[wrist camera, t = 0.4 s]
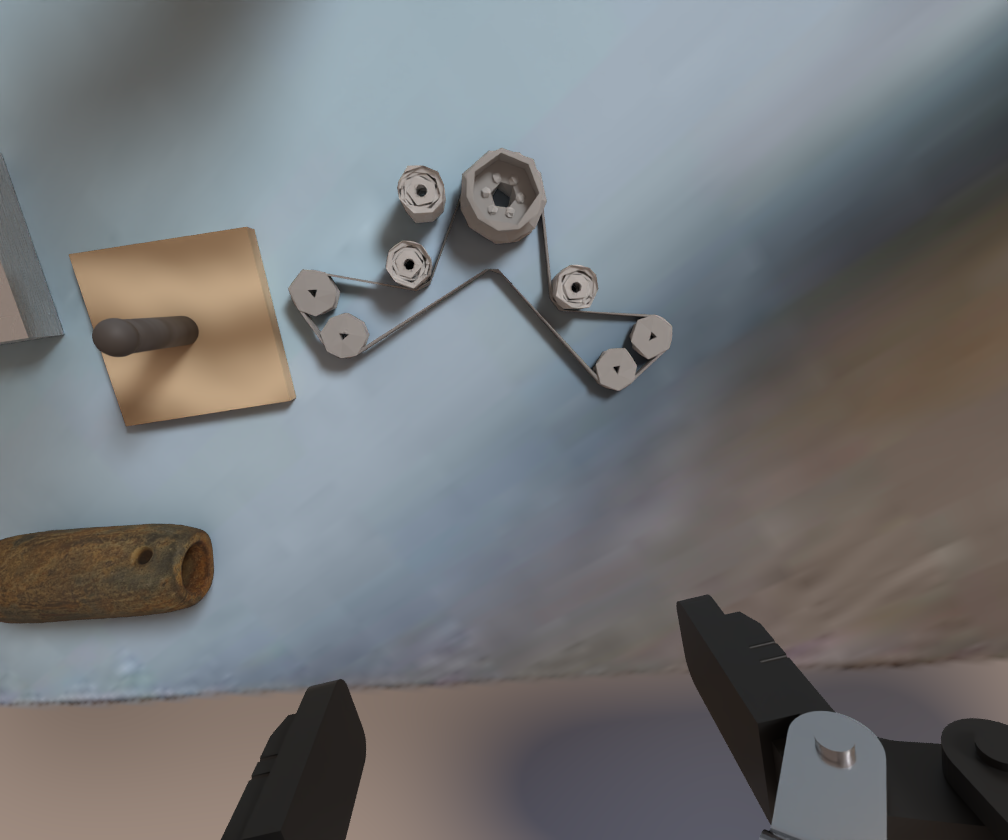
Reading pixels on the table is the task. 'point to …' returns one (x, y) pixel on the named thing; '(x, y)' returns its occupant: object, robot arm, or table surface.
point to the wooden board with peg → (185, 325)
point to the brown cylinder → (103, 572)
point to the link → (21, 276)
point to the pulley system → (499, 227)
